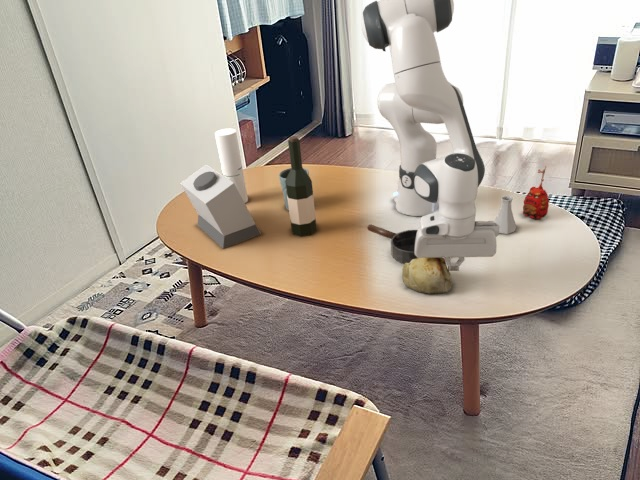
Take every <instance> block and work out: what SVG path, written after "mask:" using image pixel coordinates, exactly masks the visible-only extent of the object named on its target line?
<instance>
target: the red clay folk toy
mask: <svg viewBox="0 0 640 480" xmlns="http://www.w3.org/2000/svg"><path fill="white" fill-rule="evenodd" d="M546 168H547V165H545V167H544V169H542V170H541V169H538V170H537V173H538V174H541V173H542V175H541V179H540V183H539V186H538V187H536V186H531V187H530V188H529V191H528V192H527V193H526V195H525V197H524V200H523V206H522V214H523V216H524V217H526V218H530V220H531V219H532V220H536V221H539V220H542V219H543V218H545V217H546V216H547V214H548V211H549V206H550V204H549V203H550V200H549V194H548V193H547V191H546V190H545V189H544V188H543V182H544V181H545V180H544V177H545V173H546Z"/></svg>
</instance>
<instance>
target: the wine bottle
mask: <svg viewBox="0 0 640 480" xmlns="http://www.w3.org/2000/svg"><path fill="white" fill-rule="evenodd" d="M288 138H289V139H288V140H287V143H288V144H287V145H288V153H289V161H290V168H291V170H290V172H289V174H288V176H287V178H286V180H285V184H286V191H287V199H288V207H289V210H288V211H289V212H288V214H289V221H290V222H289V223H290V229H291V233H292V235H293V236H296V237H301V238H302V237H306V236H312V235H313V234H315V233H316V232H317V231H318V229H317V219H316V208H315V200H314V199H315V198H314V189H313V181H312V178H311V177H310V174H309V175H308V174H307V173H306V171H305V170H304V169H303V168H304V167H303V162H302V152H301V142H300V139H299V138H298V136H296V135H291V136H289V137H288Z"/></svg>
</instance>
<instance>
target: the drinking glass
mask: <svg viewBox="0 0 640 480" xmlns="http://www.w3.org/2000/svg"><path fill="white" fill-rule="evenodd" d="M303 169H304V170H305V171H306V173H307V174H308V175H309V176H310V172H309V170H308V169H307V168H305V167H303ZM290 170H291V167H289V168H286V169H284V170H282V171H280V173H278V179H279V181H280V187H281V191H282V195H283V199H284V206H285V209H286V210H287V211H289V207H288V199H287V191H286V184H285V180H286V178H287V176H288V174H289V172H290Z"/></svg>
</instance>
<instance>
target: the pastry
mask: <svg viewBox="0 0 640 480" xmlns="http://www.w3.org/2000/svg"><path fill="white" fill-rule="evenodd" d="M451 276H452V274H451V271H448V265H447V263H446V262H445V258H444V257H442V258H417V259H412V260H411V262H410V263H405V264H403V267H402V274H401V277H402V282H403V284H404V285H405V287H407V288H409V289H411V290H413V291H415V292H418V293H423V294H428V295H430V294H437V295H438V294H444V293H447V292H450V290H451V288H452V287H453V285H452V278H451Z"/></svg>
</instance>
